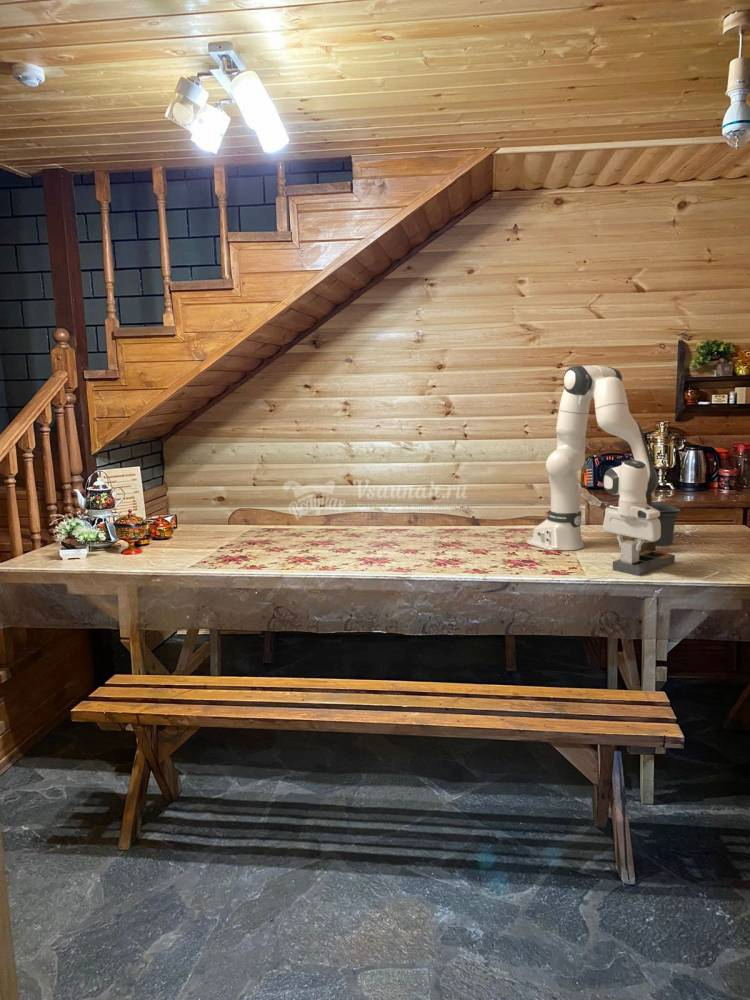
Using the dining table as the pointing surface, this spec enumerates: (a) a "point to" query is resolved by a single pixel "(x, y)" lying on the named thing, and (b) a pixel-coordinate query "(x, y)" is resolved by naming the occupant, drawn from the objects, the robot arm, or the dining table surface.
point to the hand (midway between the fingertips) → (629, 549)
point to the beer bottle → (647, 544)
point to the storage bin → (666, 522)
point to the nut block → (629, 552)
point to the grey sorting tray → (645, 563)
